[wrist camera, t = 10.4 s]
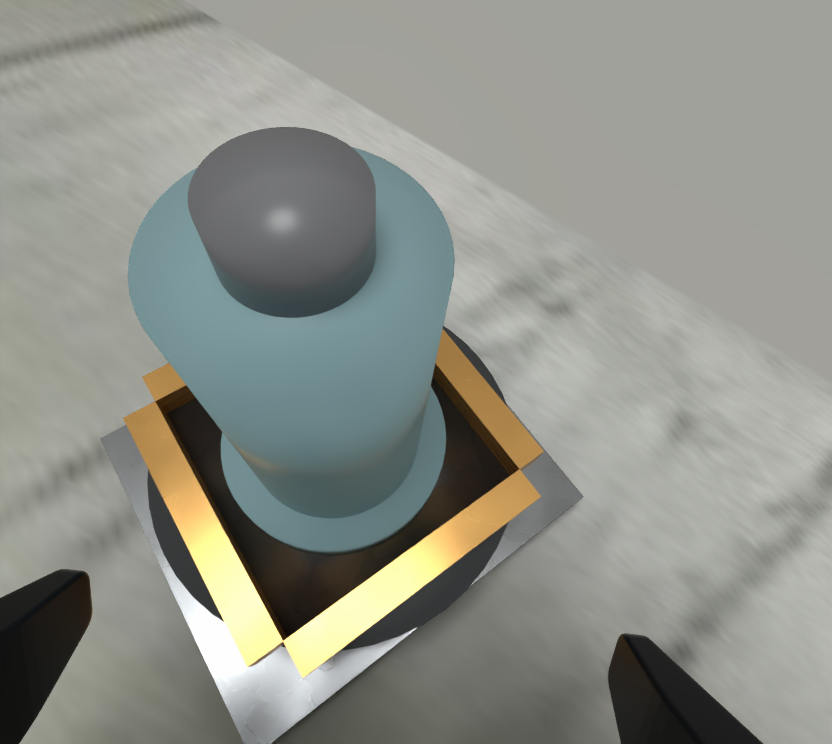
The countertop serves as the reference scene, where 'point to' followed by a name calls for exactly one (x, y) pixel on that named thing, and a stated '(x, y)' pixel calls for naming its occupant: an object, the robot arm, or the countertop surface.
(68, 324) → the countertop surface
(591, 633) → the countertop surface
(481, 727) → the countertop surface
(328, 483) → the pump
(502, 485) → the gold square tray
